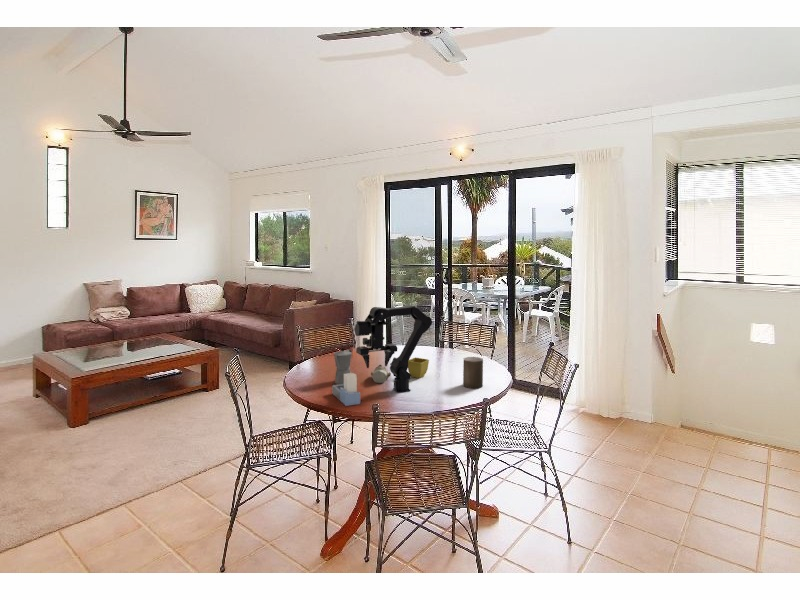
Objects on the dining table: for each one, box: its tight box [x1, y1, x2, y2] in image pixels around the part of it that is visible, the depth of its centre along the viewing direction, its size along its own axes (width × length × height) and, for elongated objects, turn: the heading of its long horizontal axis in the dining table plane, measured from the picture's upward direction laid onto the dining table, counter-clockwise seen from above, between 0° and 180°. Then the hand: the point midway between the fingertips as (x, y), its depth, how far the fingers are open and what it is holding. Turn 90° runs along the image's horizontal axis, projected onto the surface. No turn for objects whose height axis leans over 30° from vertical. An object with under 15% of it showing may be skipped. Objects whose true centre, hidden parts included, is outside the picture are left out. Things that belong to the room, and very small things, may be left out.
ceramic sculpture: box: [370, 364, 392, 384], centre depth 252 cm, size 11×9×15 cm
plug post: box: [344, 372, 358, 394], centre depth 219 cm, size 4×4×12 cm
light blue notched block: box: [339, 388, 361, 407], centre depth 219 cm, size 7×9×6 cm
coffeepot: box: [333, 347, 353, 385], centre depth 249 cm, size 15×9×18 cm, turn 159°
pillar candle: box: [462, 356, 484, 389], centre depth 242 cm, size 10×10×15 cm
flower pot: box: [407, 357, 430, 379], centre depth 258 cm, size 9×9×9 cm
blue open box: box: [331, 384, 344, 401], centre depth 227 cm, size 7×11×4 cm, turn 26°
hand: (376, 367), depth 228 cm, fingers open, 9 cm apart
